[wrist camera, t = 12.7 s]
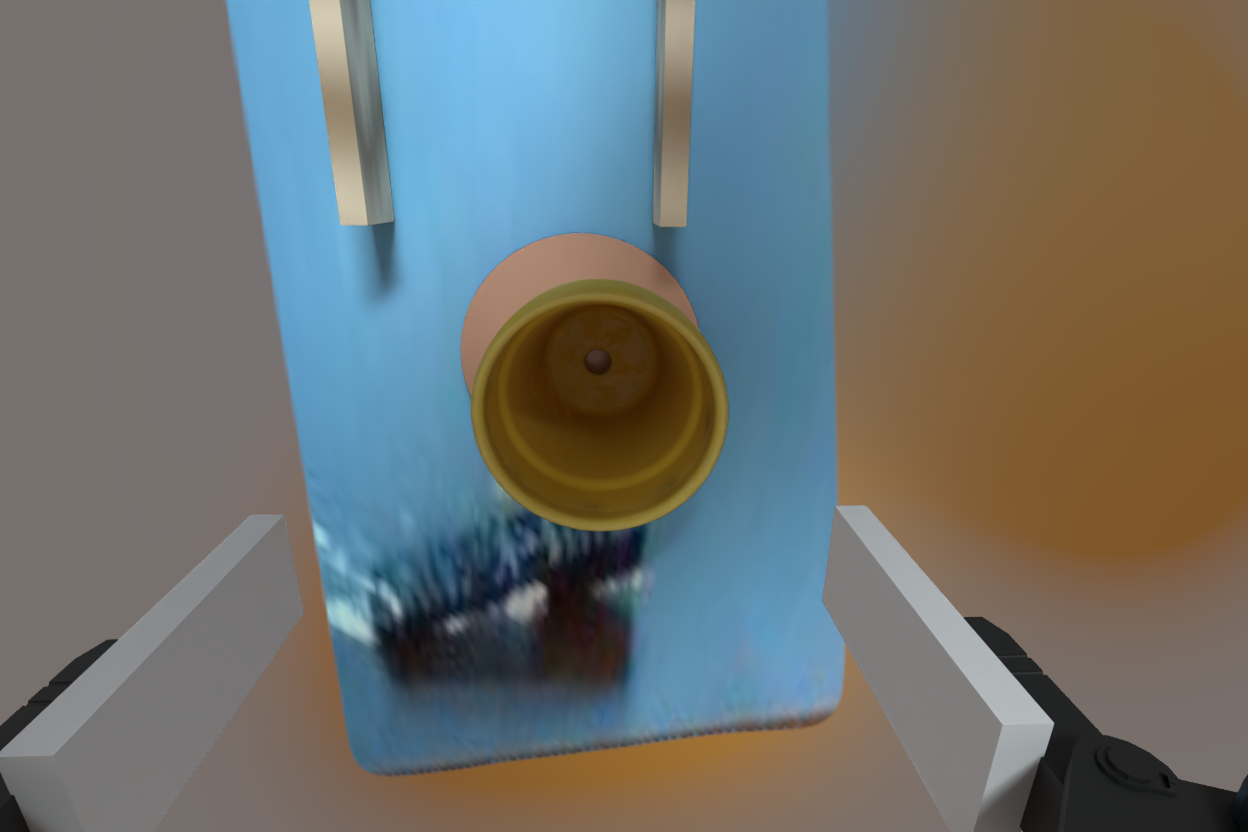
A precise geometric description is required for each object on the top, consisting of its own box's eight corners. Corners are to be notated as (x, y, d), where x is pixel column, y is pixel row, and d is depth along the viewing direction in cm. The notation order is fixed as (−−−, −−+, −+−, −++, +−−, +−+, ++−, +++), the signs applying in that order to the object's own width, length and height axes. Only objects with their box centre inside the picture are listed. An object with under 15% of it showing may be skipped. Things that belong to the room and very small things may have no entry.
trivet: (503, 194, 32) (501, 194, 31) (736, 283, 34) (739, 285, 33) (436, 421, 35) (433, 426, 35) (649, 489, 38) (650, 495, 37)
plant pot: (501, 440, 35) (468, 528, 26) (505, 252, 32) (468, 276, 23) (683, 452, 36) (712, 541, 27) (706, 269, 32) (749, 299, 23)
